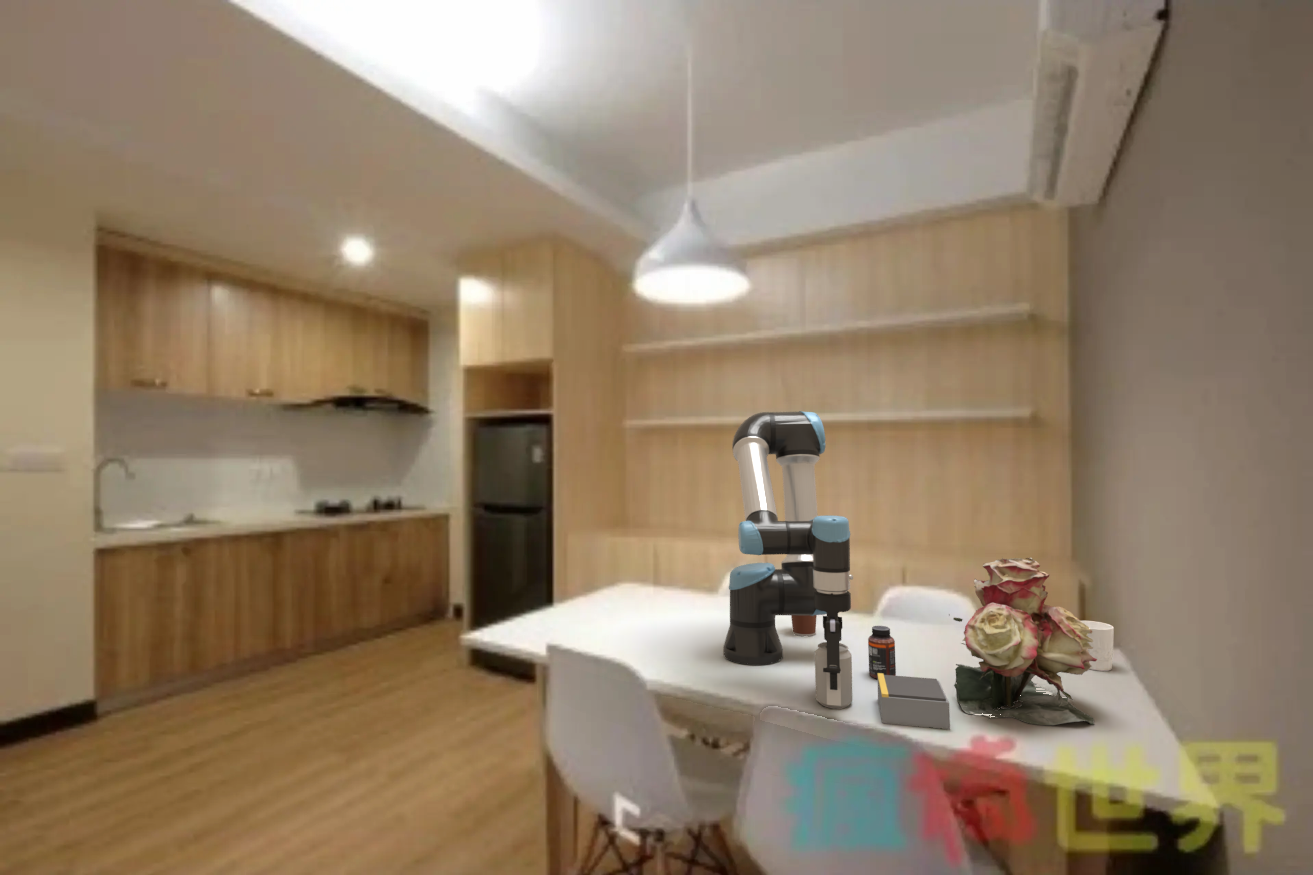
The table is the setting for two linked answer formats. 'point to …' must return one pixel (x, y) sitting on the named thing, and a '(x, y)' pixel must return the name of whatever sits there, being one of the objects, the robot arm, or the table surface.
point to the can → (844, 673)
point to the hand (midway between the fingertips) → (833, 692)
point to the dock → (912, 701)
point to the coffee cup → (804, 625)
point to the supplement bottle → (881, 652)
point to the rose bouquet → (1021, 648)
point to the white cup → (1100, 645)
